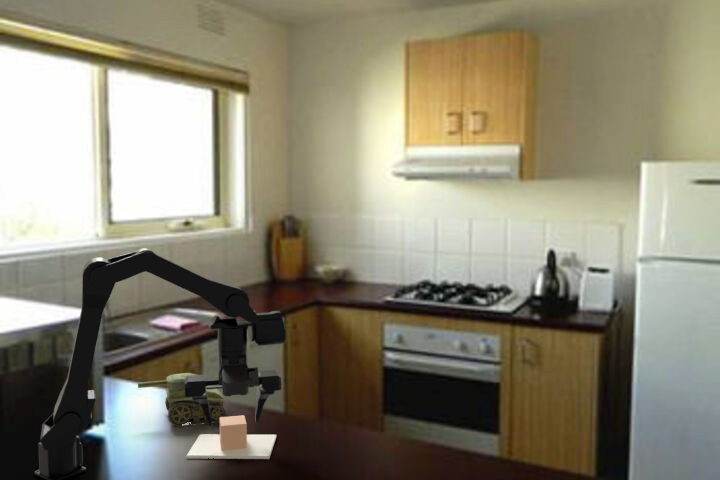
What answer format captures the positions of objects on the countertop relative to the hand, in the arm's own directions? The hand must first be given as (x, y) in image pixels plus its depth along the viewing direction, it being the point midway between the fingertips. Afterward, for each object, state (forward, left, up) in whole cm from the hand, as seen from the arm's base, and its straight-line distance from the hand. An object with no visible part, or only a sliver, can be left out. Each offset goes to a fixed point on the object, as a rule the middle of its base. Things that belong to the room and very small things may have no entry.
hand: (233, 424), depth 136 cm
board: (0, 0, -5) cm, 5 cm away
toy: (+5, +22, -5) cm, 23 cm away
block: (0, 0, -4) cm, 4 cm away
